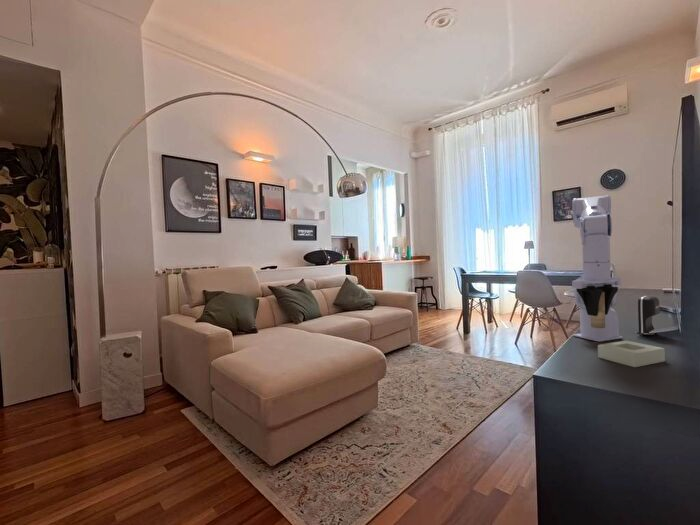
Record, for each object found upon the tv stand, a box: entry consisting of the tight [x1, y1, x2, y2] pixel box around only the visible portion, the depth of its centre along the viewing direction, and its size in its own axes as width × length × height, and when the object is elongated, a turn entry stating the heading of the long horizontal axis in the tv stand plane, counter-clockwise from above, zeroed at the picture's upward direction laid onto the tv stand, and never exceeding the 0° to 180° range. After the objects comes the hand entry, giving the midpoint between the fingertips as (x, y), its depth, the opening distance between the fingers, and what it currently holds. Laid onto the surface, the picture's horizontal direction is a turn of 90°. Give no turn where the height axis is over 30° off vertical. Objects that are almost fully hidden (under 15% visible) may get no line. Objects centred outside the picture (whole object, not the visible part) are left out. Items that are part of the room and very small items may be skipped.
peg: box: [591, 292, 605, 328], centre depth 86 cm, size 3×3×9 cm
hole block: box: [597, 340, 666, 368], centre depth 79 cm, size 10×8×3 cm
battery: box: [637, 295, 661, 335], centre depth 100 cm, size 7×4×11 cm, turn 126°
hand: (597, 314), depth 86 cm, fingers closed on peg, 3 cm apart
